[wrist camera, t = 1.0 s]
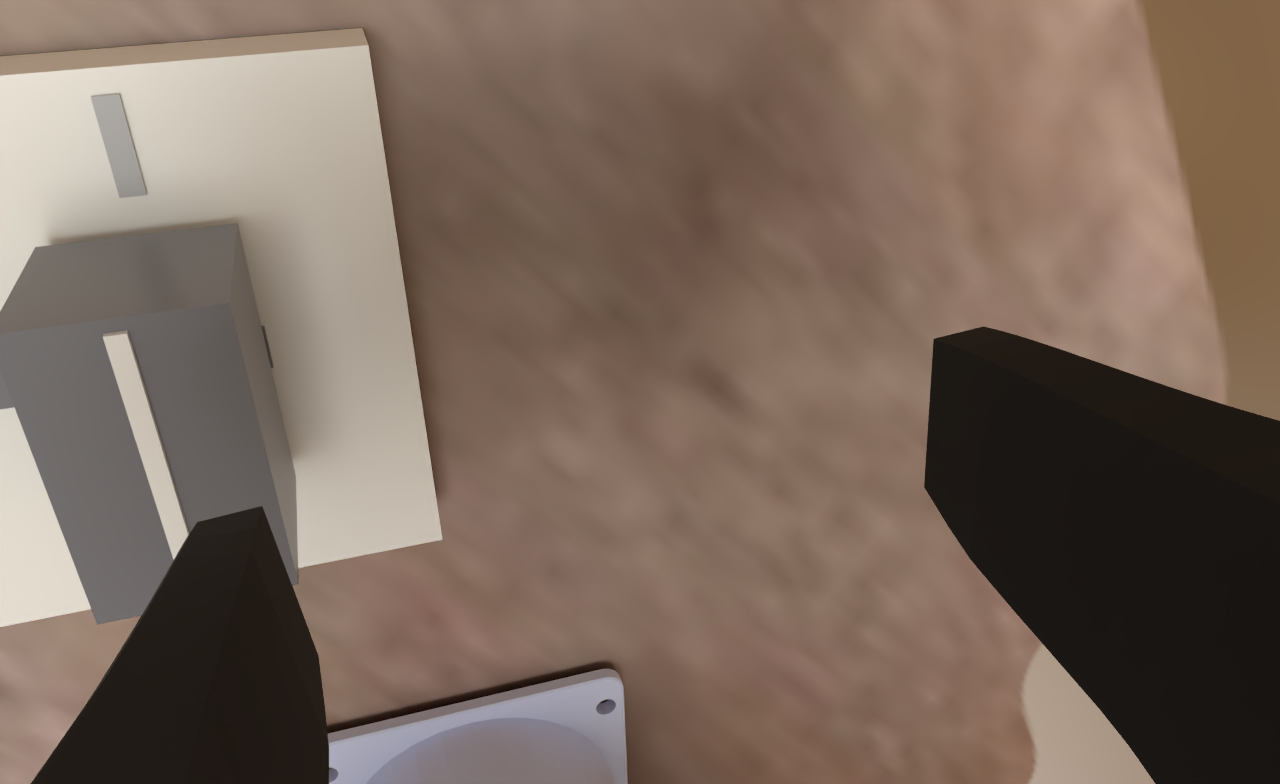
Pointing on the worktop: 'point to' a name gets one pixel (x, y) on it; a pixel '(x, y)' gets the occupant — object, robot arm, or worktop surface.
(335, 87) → the mixer panel
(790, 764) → the worktop surface
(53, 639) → the worktop surface
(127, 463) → the fader
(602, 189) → the worktop surface
